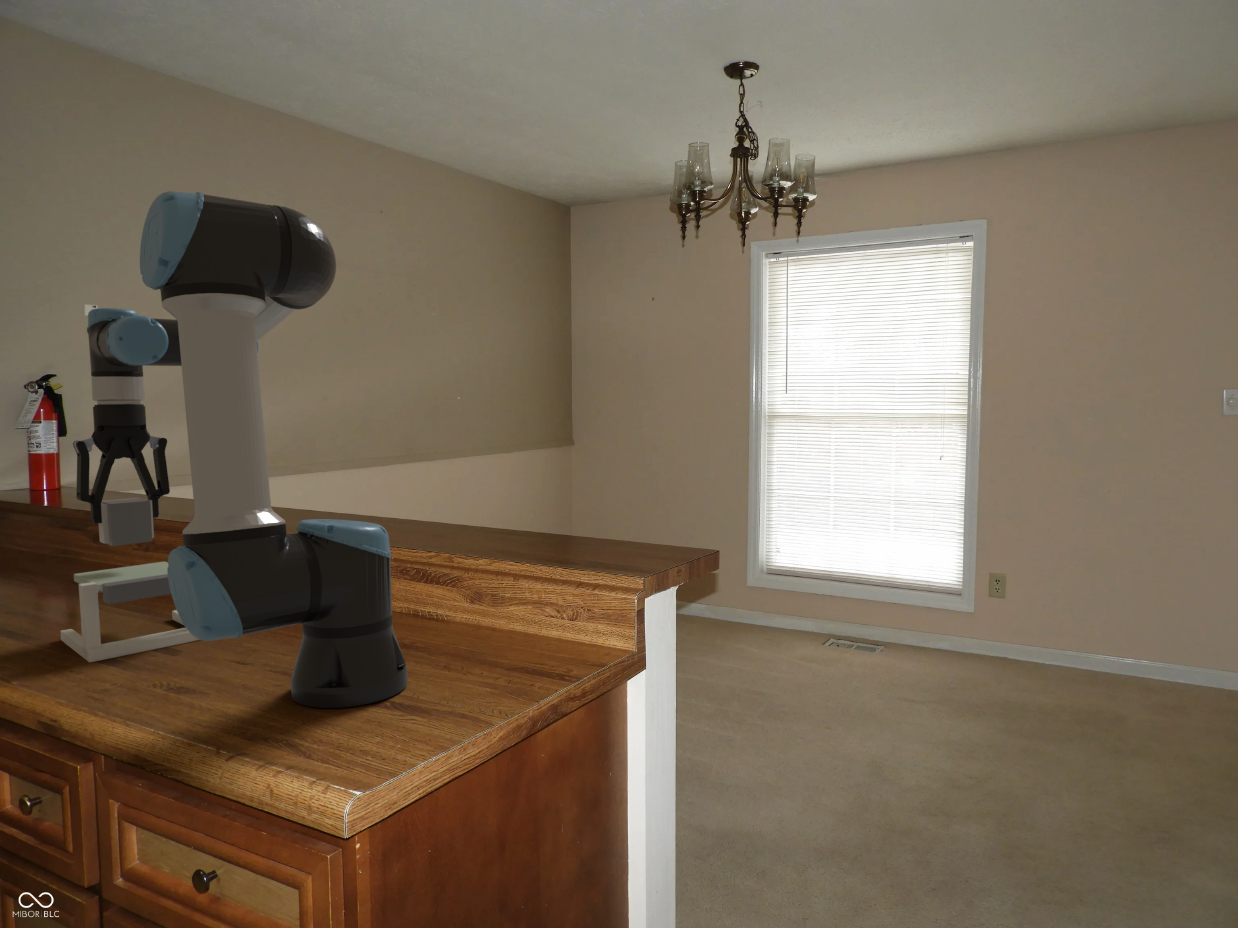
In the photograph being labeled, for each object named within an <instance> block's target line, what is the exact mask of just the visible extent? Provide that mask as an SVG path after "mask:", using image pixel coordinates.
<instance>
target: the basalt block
mask: <svg viewBox="0 0 1238 928" xmlns="http://www.w3.org/2000/svg"><path fill="white" fill-rule="evenodd" d="M147 499H148V498H143V497H139V496H138V497H128V498H117V499H107V500H106V499H103V500H102V502H101V503H105V504H107V512H108V528H109V543H106V545H109V546H110V547H118V546H124V545H126V546H127V545H133V544H141V543H142V544H143V543H150V542H153V538H152V525H151V507H150V500H147Z"/></svg>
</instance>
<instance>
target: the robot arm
mask: <svg viewBox="0 0 1238 928" xmlns="http://www.w3.org/2000/svg"><path fill="white" fill-rule="evenodd" d="M139 247H140V248H139V270H140V274H141V279H142V282H143V284H144V285H145V287H148V288H150V289H152V291H157V290H159V291H160V298H161V299H160V301H161V307H162V308H163V309H164V311H166V312H168V313H169V314H170V315H171V316H172V317H173V318H174V319H171V318H170V319H168V318H152V317H149V316H145V315H140V314H139V313H138V312H137V311H135V310H134V309H133V310H132V309H130V308H129V309H127V308H114V307H113V308H112V307H110V308H109V307H102V308H93V309H91V310H89V312H88V314H87V327H86V333H87V334H88V335H87V336H88V345H89V346H88V347H89V361H90V375H91V376H90V377H91V378H90V379H91V397H92V401H94V402H96V404H94V405H93V406H92V415H93V433H92V434H91V437H89V438H86V439H83V440H74V441H73V443H72V446H73V448H74V450H75V453H76V500H78V501H80V502H85V503H88V504H89V505H90V519H91V522H92V523H93V524H94V525H95V524H96V525H97V524H98V532H99V533H98V535H99V542H100V543H101V544H104V545H105V544H106V543H109V528H108V512H107V504H105V503H101V502H102V501H103V500H104V499H103V498H104V494H105V491H106V489H107V485H108V482H109V478H110V476H111V471H112V468H113V465H114V464H115V462H116V460H120V459H123V458H126V459H130V461H131V463H132V464H133V467H134V469H135V471H136V473H137V476H138V478H139V480H140V483H141V486H142V488H143V490H144V492H145V495H146V497H147V498H146V499H147V500H150V507H151V525H152V539H155V531H154V529H155V528H154V519H155V518H158V517H159V515H160V511H159V506H160V505H159V499H160V498H161V497H163V496H167V495H169V494H170V492H171V490H170V489H171V488H170V480H169V472H168V465H167V457H166V448H167V446H168V445H167V444H168V438H165V437H160V436H159V437H157V436H154V435H151V434H150V432H149V431H148V429H147V415H146V414H147V413H146V406H145V405H144V404H143V403H142V402H143V401H145V399H146V395H145V383H144V368H143V366H146V367H147V366H151V367H153V366H158V367H160V366H161V367H181V374H182V375H181V376H182V384H183V394H184V395H183V397H184V407H185V418H186V429H187V440H188V442H187V443H188V452H189V462H190V473H191V475H190V476H191V484H192V495H193V496H192V497H193V507H194V508H193V509H194V517H193V519H192V520H191V521H190V522H189V523H188V524H187V526H185V527H184V529H183V530H182V543H183V544H182V545H179V546H177V547H176V548H174V549H172V550H171V551H170V552H169V555H168V557H167V563H168V566H169V567H168V569H167V572H168V580H169V586H170V590H171V594H170V595H171V598H172V601H173V604H174V608H175V610H177V612H178V614H179V616H180V618H181V620H182V622H183V624H184V625H185V626H184V625H183V626H184V628H187V630H188V631H189V632H190V633H191V634H192V635H193V636H195V637H196V638H198V639H200V640H199V641H204V642H207V641H208V642H211V641H212V642H213V641H218V640H225V639H231V638H232V639H239V638H241V637H242V636H245V635H250V634H256V633H261V632H265V631H269V630H275V629H280V628H285V627H291V626H295V625H300V624H301V625H302V640H301V642H300V646H299V650H298V654H297V656H296V660H295V663H294V664H295V665H294V668H293V671H292V674H291V678H290V693H291V695H290V696H291V699H292V700H293V701H294V702H296V703H298V704H299V705H303V706H306V707H310V708H312V707H313V708H322V709H335V708H336V709H337V708H350V707H357V706H363V705H368V704H372V703H377V702H380V701H383V700H386V699H388V698H391V697H393V696H395V695H397V694H399V693H400V692H402V691H403V690H405V688H406V687H407V686H408V683H409V682H408V666H407V663H406V660H405V658H404V654H403V653H402V650H401V647H400V645H399V642H398V639H397V637H396V634H395V631H394V627H393V626H394V625H393V602H392V601H393V600H392V599H393V598H392V597H393V596H392V567H391V565H392V557H393V556H392V554H391V553H392V552H391V546H390V539H389V538H390V537H389V532H388V531H387V530H386V528H385V527H384V526H383V525H380V524H378V523H375V522H368V521H361V520H359V521H358V520H351V519H350V520H349V519H334V518H333V519H329V518H326V519H324V518H323V519H322V518H313V519H312V518H310V519H302V520H300V521H299V522H298V524H297V527H296V528H295V529H296V532H295V533H290V534H287V525H286V520H285V519H284V518H282V517H281V515H279V514H278V513H276V512H275V511H274V509H273V508H272V501H271V492H270V491H271V490H270V480H269V479H270V477H269V469H268V458H267V448H266V447H267V445H266V435H265V426H264V425H265V424H264V415H263V414H264V413H263V403H262V393H261V391H262V390H261V379H260V378H261V377H260V369H259V359H258V356H259V355H258V352H259V341H260V340H261V339H262V338H263V337H265V336H266V335H267V334H268V333H269V332H271V331H272V330H273V329H274V328H276V327H277V326H278V325H280V323H282V322H283V321H284V320H285V319H286V318H288V317H289V316H290V315H291V314H292V313H294V312H295V311H299V310H306V309H308V308H310V307H312V306H314V305H315V304H317V303H318V302H319V301H321V299H323V297H325V295H326V294H327V293H328V292H329V291H330V289H331V287H332V285H333V283H334V280H335V278H336V272H337V261H336V254H335V251H334V248H333V245H332V243H331V241H330V239H329V237H328V236H327V234H326V233H325V232H324V231H323V230H322V228H321V227H320V226H319V225H318V224H317V223H316V222H315V221H314V220H312V219H311V218H310V217H309V216H307V215H305V214H304V213H301V212H300V211H297V210H296V209H292V208H290V207H287V206H280V205H276V204H273V205H271V204H266V203H259V202H254V201H247V200H241V199H235V198H229V197H221V196H216V195H210V194H205V193H203V192H198V191H197V192H195V193H193V192H182V191H173V190H170V191H169V190H167V191H165V192H161V194H159V195H157V196H156V197H155V199H154V200H153V201H152V203H151V205H150V206H149V208H148V211H147V213H146V217H145V221H144V223H143V228H142V233H141V238H140V246H139ZM148 443H149V446H150V448H151V449H152V455H153V465H154V471H155V479H156V485H155V482H154V480H153V478H152V477H153V476H152V475H151V473H150V471H149V468H148V466H147V463H146V459H145V457H144V453H143V452H142V451H143V450H144V448H145V447H146V445H147V444H148ZM93 445H95V447H97V449H98V450H99V451H100V452H101V456H100V459H99V465H98V469H97V472H96V474H95V475H96V476H95V479H94V482H93V486H92V489H91V492H90V458H91V457H90V453H91V451H92V450H93ZM156 487H157V488H156ZM106 545H107V544H106Z"/></svg>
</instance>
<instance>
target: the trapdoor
mask: <svg viewBox="0 0 1238 928" xmlns="http://www.w3.org/2000/svg"><path fill="white" fill-rule="evenodd" d="M168 567H169V566H168V561H159V562H158V561H157V562H151V563H145V564H138V565H131V566H130V565H128V566H122V567H116V568H108V569H99V570H93V571H84V572H78V573H73V581H74V582H75V583H77V584H78V585H79V584H83V583H90V582H95V583H96V584H97V590H98V594H99V593H102V601H103V602H104V603H105V604H107V605H113V604H119V603H125V602H131V601H132V602H133V601H138V600H144V599H149V598H156V597H160V596H168V595H172V594H171V590H170V586H169V580H168V572H167V569H168ZM103 602H102V603H103Z"/></svg>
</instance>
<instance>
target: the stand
mask: <svg viewBox="0 0 1238 928" xmlns="http://www.w3.org/2000/svg"><path fill="white" fill-rule="evenodd" d="M78 596H79V611H80V624H81V625H80V627H81V634H80V633H78V632H77V631H75V630H74V629H72V628H69V629H63V630H60V641H62V642H63V643H64V644H65V645H66V646H68V647H69V648H70V649H72V650H73V651H75V653H77V654H78V655H79V656H80V657H82V658H83V659H85V660H86V661H87V662H88V663H93V662H98V661H99V662H101V661H103V660H104V661H105V660H108V659H109V660H110V659H113V658H118V657H123V656H129V655H133V654H138V653H142V652H143V653H144V652H148V651H152V650H158V649H162V648H168V647H171V646H177V645H183V644H187V643H192V642H196V641H201V640H200V639H198V638H196V637H195V636H193V635H192V634H191V633H190V632H189V631H188V630H187V628H186V627H185V625H184V624H183V622H182V620H181V618H180V616H179V614H178V612H177V609H174V610H172V611H171V612H172V613H171V614H172V616H171V617H172V621H175V622H177V623H179V624H180V625H182V626H184V627H181V628H177V629H173V630H168V631H161V632H157V633H151V634H146V635H141V636H136V637H129V638H125V639H121V640H115V641H111V642H110V641H109V642H106V643H102V641H101V640H102V639H101V626H100V625H101V624H100V610H99V609H100V607H99V606H100V605H99V593H98V590H97V584H96V583H95V582H90V583H83V584H79V583H78Z"/></svg>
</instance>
